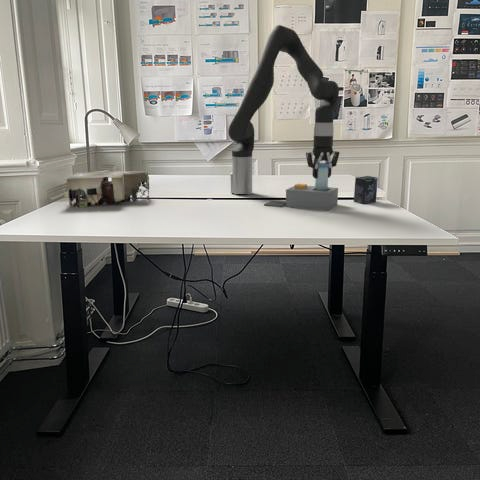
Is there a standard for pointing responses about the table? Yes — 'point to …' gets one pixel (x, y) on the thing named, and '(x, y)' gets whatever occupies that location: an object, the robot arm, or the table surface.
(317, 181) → the cartridge
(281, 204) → the mat
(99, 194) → the beige boxy piece
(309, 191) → the housing
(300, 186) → the orange rectangular block
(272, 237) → the table surface
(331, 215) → the table surface
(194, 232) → the table surface
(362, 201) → the box
